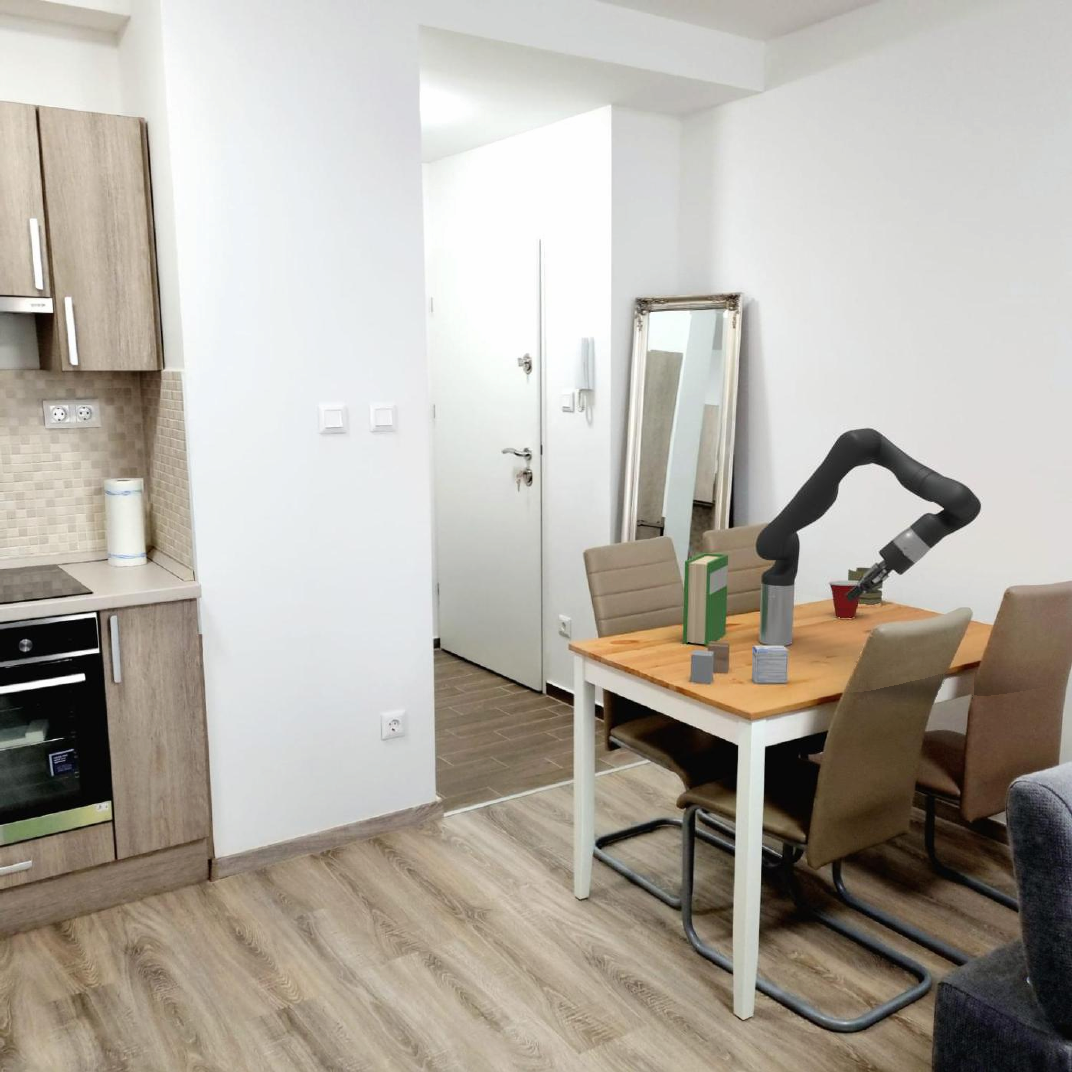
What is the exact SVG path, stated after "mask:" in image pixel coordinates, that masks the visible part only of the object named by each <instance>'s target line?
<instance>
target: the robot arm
mask: <svg viewBox="0 0 1072 1072" xmlns="http://www.w3.org/2000/svg"><path fill="white" fill-rule="evenodd" d="M871 464H873V465H877V466H880V467H882V468H885V469H886V470H888V471H889V472H891V473H892V474H893V476H894V477H895V478H896V480H897V481H898V482H899V484H900V485H901V486H902V487H903V488H904V489H905V490H907V491H909V492H910V493H912V494H914V495H916V496H917V497H919V498H921V499H922V500H924V501H926V502H930V503H934V504H936V505H938V506H940V507H941V508H943V509H942V510H941V511H939V512H937V513H932V512H927V513H926V512H925V513H924V514H923V515H921V516H920V517H919V518H918V519H916V520H915V521H914V522H913V523H912V524H910V526H909V527H907V528H906V529H904V530H902V531H901V532H900V533H899V534H898V535H896V536H894V538H892V539H891V540H890V541H889V542H888V543H887V544H886V545H885V546H883V547H882V548H881V549H879V551H878V554H879V556H880V557H881V558H882V559H883V560H881V562H880V561H879V562H875V563H874V564H873V565H871V567H869V568H870V569H869V570H868V571H867V572H866V573H865V574H864V575H863V577H862V578H860V579H859V582H857V585H856V586H855V587H854V588H852V589H851V590H850V591H849V592H848V593H846V598H847V599H848V600H849V601H850V602H853V601H854V600H855V599H856V598H858V597H859V596H860V595H861V594H862V593H863V592H864V593H865V592H869V591H870V590H871V589H873V588H874V587H876V586H878V585H879V584H881V583H882V582H884V581H886V580H887V579H888V578H889V577H890V576H889V574H890V573H891V572H892V571H894V572H896V574H897V575H899V576H901V575H903V574H904V573H905V572H907V571H908V570H909V569H910V568H911V567H913V566H914V565H915V564H916V563H918V562H919V561H920V560H922V559H923V558H924V557H925V556H926V555H927V554H928V553H929V551H930V550H931V549H932V548H934V547H935V546H936V545H937V544H939V543H940V542H941V541H942V540H943V539H944V538H945V537H947V536H950V535H952V534H954V533H956V532H957V531H960V529H963V528H965V527H966V526H968V525H970V524H971V523H972V522H973V521H974V520H975V519H976V518H977V517H978V515H979V514H980V513H981V510H982V503H981V501H980V499H979V498H978V497H977V495H976V494H975V493H974V492H973V490H971V489H970V487H968V486H967V485H965V484H964V483H962V482H960V481H958V480H955V479H953V478H950V477H948V476H944V475H942V474H940V473H939V472H937V471H936V470H933V469H932V468H930V467H928V466H927V465H925V464H923V463H921V462H919V461H918V460H916V459H914V458H913V457H912V456H910V455H909V454H907V453H906V452H904V451H903V450H902V449H901V448H900V447H898V446H897V445H896V444H894V443H893V442H892V441H891V440H889V439H888V438H887V437H886V436H884V435H883V434H881V432H879V431H877V430H876V429H874V428H869V427H866V428H857V429H852V430H851V429H850V430H848V431H846V432H844V433H842V434H840V435H839V437H837V439H836V441H835V442H834V444H833V445H832V447H831V449H830V450H829V451H828V454H827V455H826V456H825V458H824V459H823V461H822V462H821V463H820V465H819V466H818V467H817V468H816V470H814V472H813V473H812V475H811V476H810V477H809V478H808V479H807V480H806V481H805V483H803V485H802V486H801V487H800V489H799V490H798V491H797V492H796V493H795V495H794V496H793V498H791V500H790V501H789V502H788V503H787V505H786V506H784V508H783V509H782V510H781V511H780V513H779V514H778V515H777V516H776V517H775V518H774V519H772V520H771V521H770V522H769V523H768V524H767V525H766V526H765V527H764V528H763V529H762V530H761V531H760V532H759V534H758V536H757V538H756V542H755V550H756V553H757V555H758V556H759V557H760V558H761V559H762V560H765V561H774V564H773V565H772V566H771V567H770V568H769V569H767V570H765V571H764V572H763V573H762V574H761V582H760V583H761V585H760V609H759V610H760V612H759V638H758V639H759V640H758V641H759V643H761V644H763V645H766V646H784V647H785V646H789V645H792V644H793V630H794V629H793V628H794V611H795V610H794V608H795V607H794V605H795V584H796V583H795V580H796V578H797V575H798V571H799V570H798V568H799V559H800V549H801V545H800V542H801V541H800V538H799V534H798V533H797V532H799V531H800V530H802V529H804V528H807V527H808V526H810V525H811V524H813V523H816V522H817V521H818V520H819V519H821V518H822V517H823V516H824V515H825V514H826V513H827V512H828V510H829V509H830V508H831V507H832V506H833V505H834V504H835V502H836V500H837V498H838V494H839V487H840V483H841V481H842V480H843V479H844V478H845V477H846V476H847V474H849V473H850V472H851V471H852V470H853V469H855V468H856V467H857V468H858V467H862V466H866V465H871Z"/></svg>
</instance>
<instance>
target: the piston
mask: <svg viewBox="0 0 1072 1072" xmlns="http://www.w3.org/2000/svg"><path fill="white" fill-rule="evenodd" d="M870 568H871V567H856V569H855V570H851V569H847V570H848V571H847V572H848V573H847V581H859V579H860V578H862V577H863V575H864V574H865V573H866V572H867V571H868V570H869V569H870ZM883 582H884V581H883ZM883 582H882V583H881V584H879V585H878V586H876V587H874V588H873V589H871V590H870V591H869V592H865V593H864V592H863V593H862V594H861V595H860V597H859V602H858V604H866V605H875V604H879V603H881V602H882V601H883V597H882V596H883V591H882V590H880V589H883V585H884V583H883Z"/></svg>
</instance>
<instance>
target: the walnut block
mask: <svg viewBox="0 0 1072 1072" xmlns="http://www.w3.org/2000/svg"><path fill="white" fill-rule="evenodd" d="M730 646H731V645H730V641H729V642H726V641H725V642H724V641H716V642H715V641H710V642H709V645H708V647H707V651H713V652H714V660H713V674H715V673H716V674H725V675H726V674H727V675H728V672H729V669H730Z"/></svg>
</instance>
